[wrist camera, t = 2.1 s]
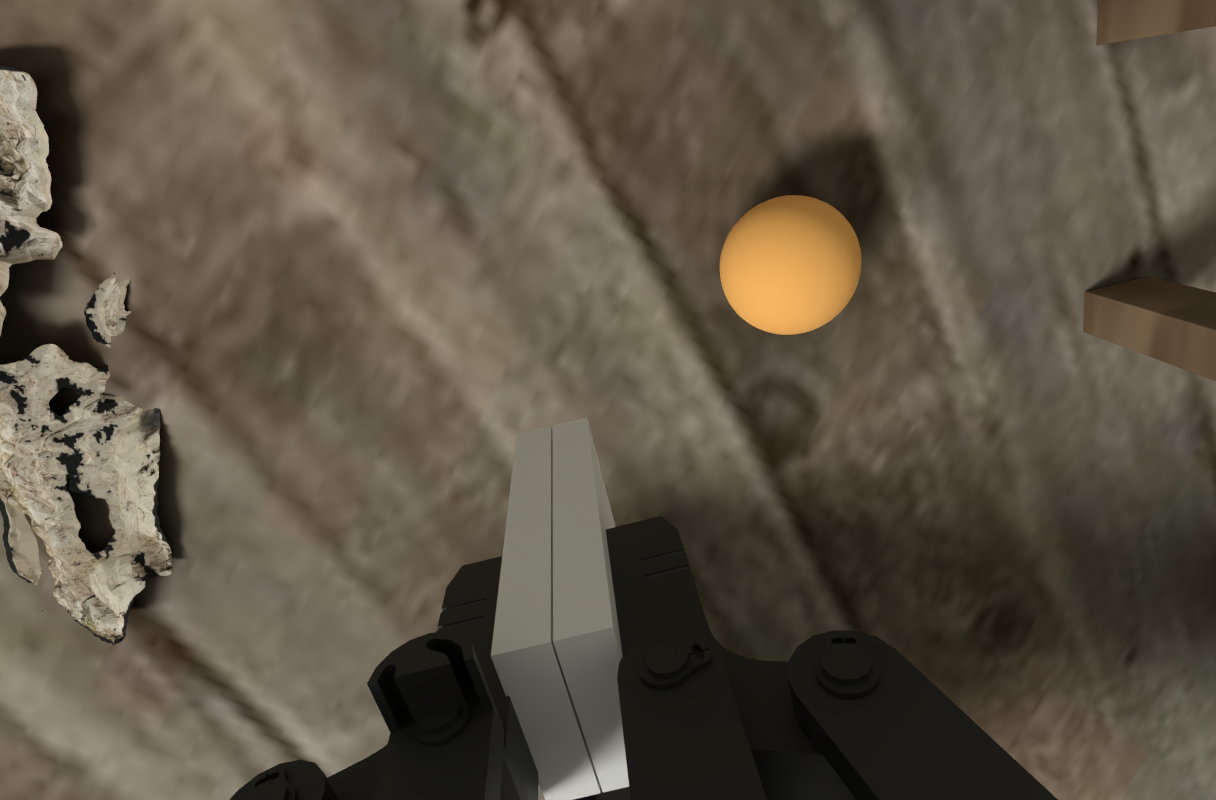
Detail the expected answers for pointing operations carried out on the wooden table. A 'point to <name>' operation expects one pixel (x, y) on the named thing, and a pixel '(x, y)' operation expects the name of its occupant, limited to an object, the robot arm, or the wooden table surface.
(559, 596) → the robot arm
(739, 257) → the ball
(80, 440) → the driftwood
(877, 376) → the wooden table surface
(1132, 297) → the bridge
